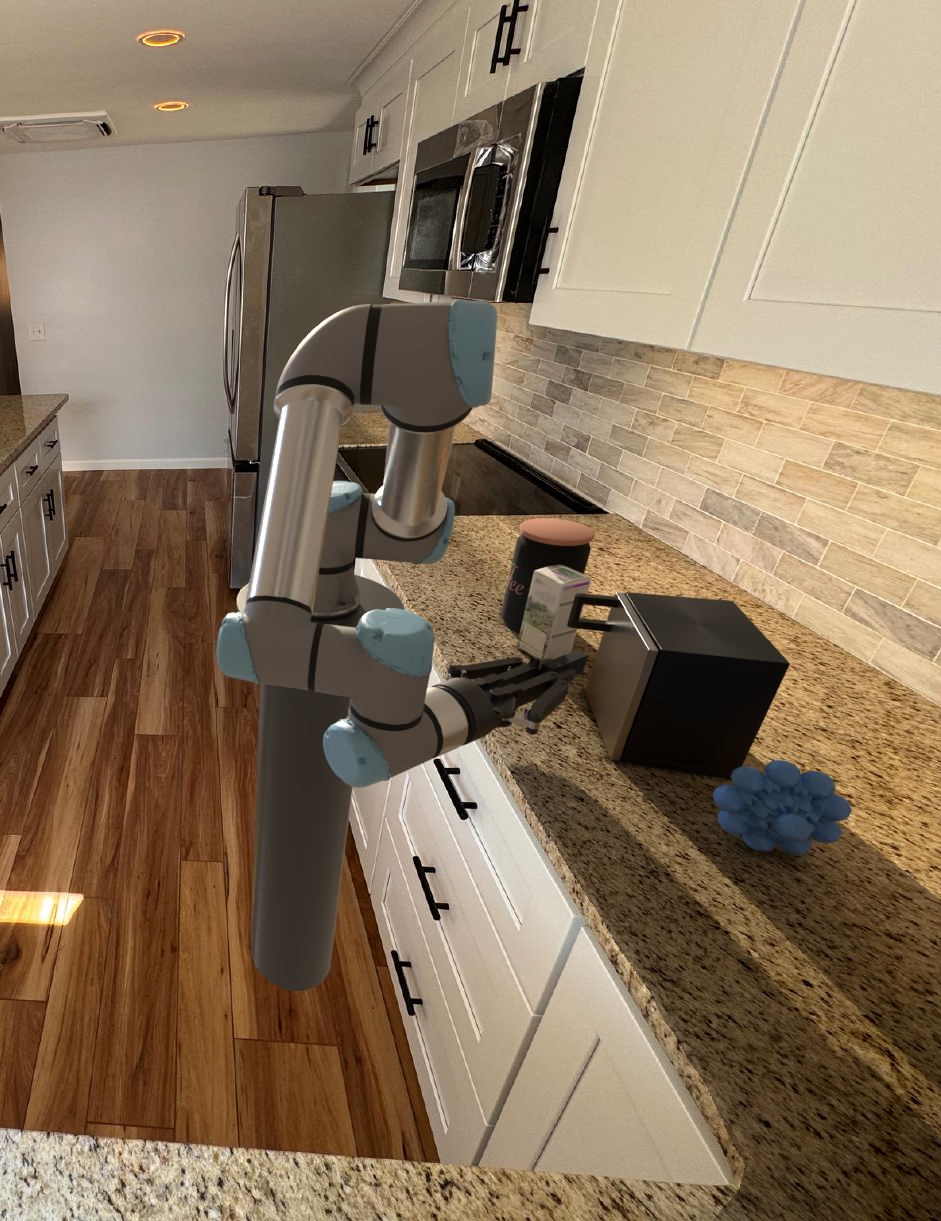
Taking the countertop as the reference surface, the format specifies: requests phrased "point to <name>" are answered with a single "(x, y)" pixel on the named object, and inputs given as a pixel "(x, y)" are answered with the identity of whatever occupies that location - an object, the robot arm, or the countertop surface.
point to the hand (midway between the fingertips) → (579, 661)
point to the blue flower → (781, 807)
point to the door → (616, 666)
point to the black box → (701, 685)
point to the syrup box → (551, 612)
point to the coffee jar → (542, 559)
